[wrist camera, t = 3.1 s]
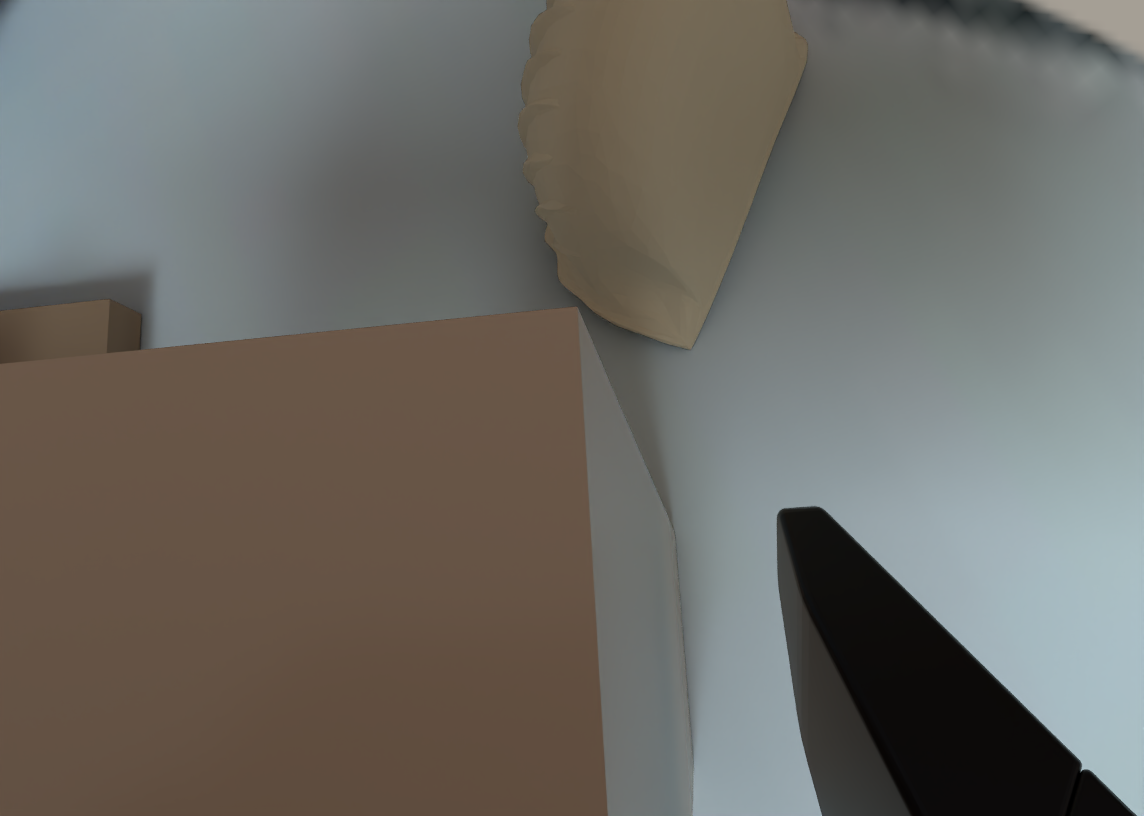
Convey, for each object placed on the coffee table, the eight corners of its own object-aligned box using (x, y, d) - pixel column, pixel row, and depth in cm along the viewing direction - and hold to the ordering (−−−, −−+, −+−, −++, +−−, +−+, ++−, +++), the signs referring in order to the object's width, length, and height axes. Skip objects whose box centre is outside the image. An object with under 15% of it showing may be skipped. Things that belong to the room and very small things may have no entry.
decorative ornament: (496, 287, 17) (407, 158, 12) (659, -66, 18) (642, -325, 13) (686, 360, 16) (679, 255, 11) (845, -15, 17) (907, -270, 12)
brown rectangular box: (674, 531, 16) (577, 304, 3) (693, 767, 15) (667, 1826, 2) (512, 542, 16) (-179, 380, 3) (521, 772, 15) (-352, 1693, 3)
